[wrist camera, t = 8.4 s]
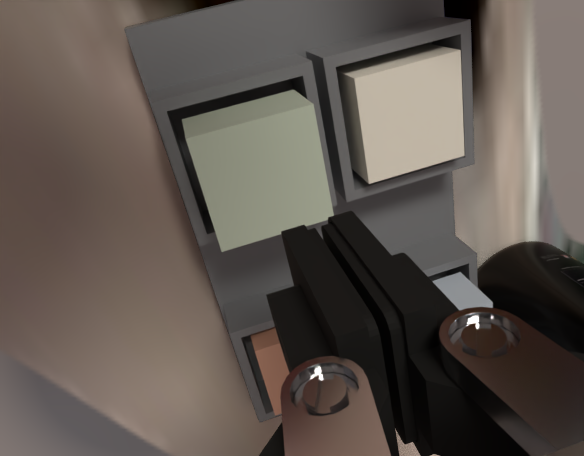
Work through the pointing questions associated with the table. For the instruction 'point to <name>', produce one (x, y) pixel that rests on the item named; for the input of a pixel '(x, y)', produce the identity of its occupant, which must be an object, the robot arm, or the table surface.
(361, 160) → the ivory key
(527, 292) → the supplement bottle
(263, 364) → the terracotta key
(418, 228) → the keypad
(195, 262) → the table surface
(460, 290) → the slate key
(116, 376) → the table surface
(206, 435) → the table surface
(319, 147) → the sage key
